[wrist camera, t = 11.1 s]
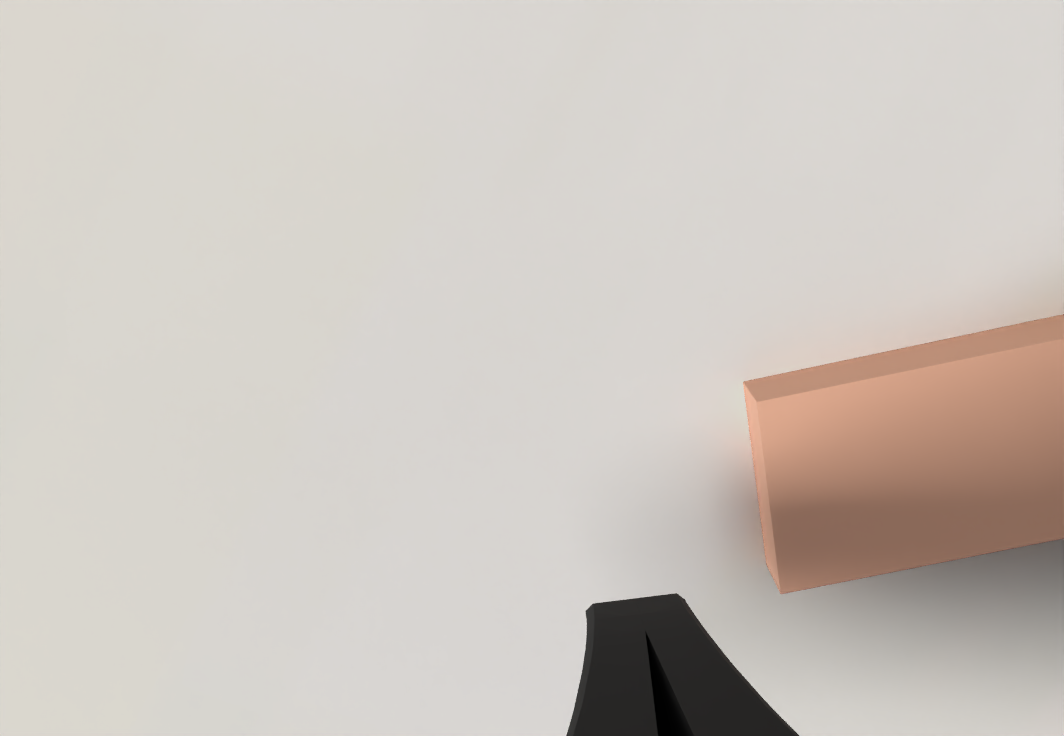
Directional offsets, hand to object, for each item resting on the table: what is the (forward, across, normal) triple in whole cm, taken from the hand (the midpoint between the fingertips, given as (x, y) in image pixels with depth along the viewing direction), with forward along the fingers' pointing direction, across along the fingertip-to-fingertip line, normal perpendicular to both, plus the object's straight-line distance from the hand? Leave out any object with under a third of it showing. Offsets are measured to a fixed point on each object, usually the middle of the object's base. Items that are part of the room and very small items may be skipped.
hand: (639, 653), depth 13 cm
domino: (+4, -3, 0) cm, 5 cm away
